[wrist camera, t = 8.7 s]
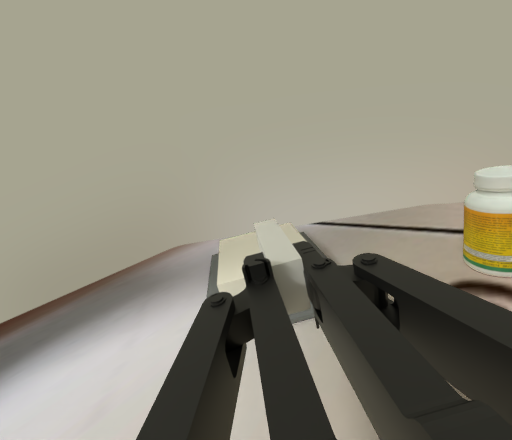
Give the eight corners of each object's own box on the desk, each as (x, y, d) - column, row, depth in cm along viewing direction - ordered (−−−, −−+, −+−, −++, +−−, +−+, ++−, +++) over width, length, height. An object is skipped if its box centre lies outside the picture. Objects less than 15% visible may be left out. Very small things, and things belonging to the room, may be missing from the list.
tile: (320, 257, 29) (290, 222, 42) (216, 284, 28) (219, 240, 41) (323, 276, 29) (293, 235, 43) (222, 303, 29) (223, 253, 42)
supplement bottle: (468, 248, 29) (471, 165, 26) (538, 257, 25) (551, 160, 22) (457, 271, 26) (458, 179, 23) (535, 285, 22) (548, 176, 19)
